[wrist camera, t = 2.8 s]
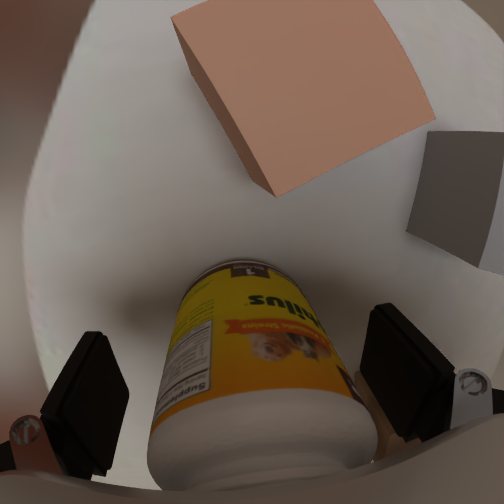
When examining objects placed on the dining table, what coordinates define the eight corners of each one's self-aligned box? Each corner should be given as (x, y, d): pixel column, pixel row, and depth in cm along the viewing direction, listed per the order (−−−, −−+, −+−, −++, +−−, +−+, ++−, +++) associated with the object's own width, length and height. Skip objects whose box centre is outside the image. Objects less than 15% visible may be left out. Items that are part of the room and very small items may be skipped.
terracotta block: (358, 128, 11) (435, 118, 6) (252, 180, 11) (276, 198, 6) (301, 28, 9) (346, -33, 4) (191, 74, 9) (170, 17, 5)
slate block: (464, 248, 13) (526, 281, 8) (405, 230, 12) (477, 268, 7) (483, 166, 12) (550, 179, 7) (427, 131, 11) (506, 132, 6)
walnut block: (414, 392, 16) (446, 438, 12) (354, 418, 16) (379, 472, 12) (424, 342, 15) (468, 391, 10) (354, 372, 15) (389, 435, 10)
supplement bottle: (326, 309, 13) (443, 502, 3) (242, 377, 14) (269, 570, 4) (242, 226, 11) (324, 505, 2) (154, 314, 12) (90, 542, 2)
